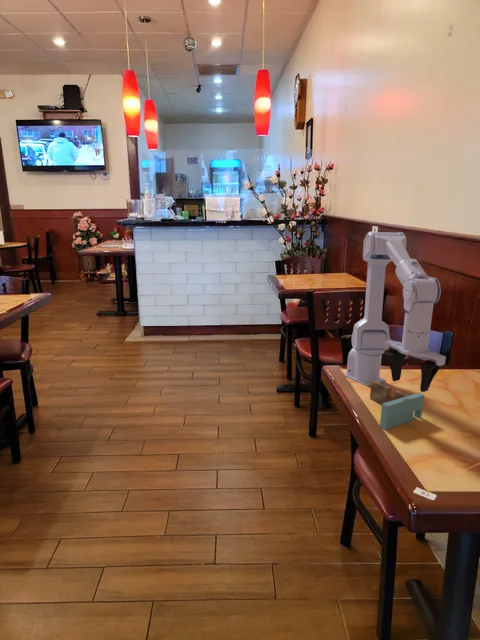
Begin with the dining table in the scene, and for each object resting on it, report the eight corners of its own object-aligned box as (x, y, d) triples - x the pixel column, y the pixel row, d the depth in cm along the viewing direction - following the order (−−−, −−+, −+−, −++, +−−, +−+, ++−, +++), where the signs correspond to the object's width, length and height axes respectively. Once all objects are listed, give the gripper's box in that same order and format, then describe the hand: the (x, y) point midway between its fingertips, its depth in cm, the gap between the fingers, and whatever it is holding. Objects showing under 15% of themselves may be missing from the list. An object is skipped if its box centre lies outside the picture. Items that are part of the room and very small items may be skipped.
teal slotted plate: (379, 427, 108) (382, 403, 106) (415, 414, 114) (418, 392, 113) (384, 429, 106) (387, 406, 105) (421, 417, 113) (424, 395, 111)
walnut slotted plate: (369, 398, 123) (371, 381, 122) (373, 397, 124) (375, 380, 123) (402, 414, 114) (405, 396, 113) (407, 413, 115) (409, 394, 114)
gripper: (379, 325, 108) (373, 379, 112) (435, 340, 97) (427, 399, 100) (397, 321, 112) (391, 373, 116) (453, 335, 101) (445, 392, 104)
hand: (409, 385), depth 108 cm, fingers open, 7 cm apart
